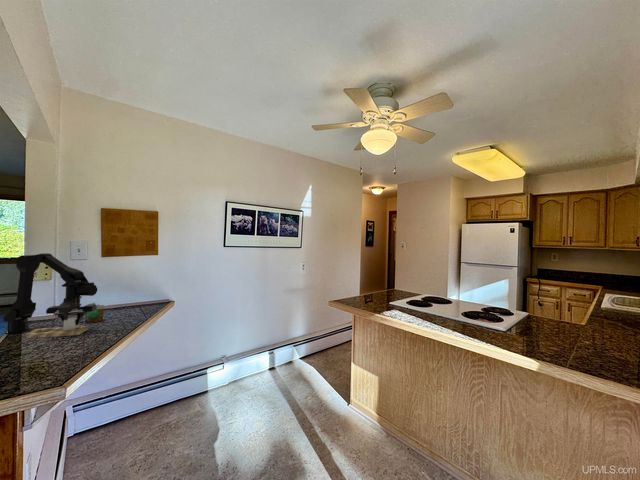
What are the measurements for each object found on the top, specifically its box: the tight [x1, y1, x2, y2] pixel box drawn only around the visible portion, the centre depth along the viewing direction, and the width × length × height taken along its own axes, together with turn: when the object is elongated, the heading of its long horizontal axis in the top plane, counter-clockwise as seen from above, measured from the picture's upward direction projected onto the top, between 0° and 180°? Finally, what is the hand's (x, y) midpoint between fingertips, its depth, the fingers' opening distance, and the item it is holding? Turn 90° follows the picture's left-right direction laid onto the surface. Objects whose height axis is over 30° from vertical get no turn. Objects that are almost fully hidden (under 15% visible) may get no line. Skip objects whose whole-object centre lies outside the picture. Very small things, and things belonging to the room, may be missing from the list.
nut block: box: [62, 317, 80, 331], centre depth 138 cm, size 5×5×6 cm
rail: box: [24, 325, 89, 339], centre depth 136 cm, size 21×9×2 cm, turn 109°
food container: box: [86, 302, 105, 324], centre depth 158 cm, size 12×6×10 cm, turn 62°
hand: (71, 325), depth 138 cm, fingers closed on nut block, 5 cm apart
